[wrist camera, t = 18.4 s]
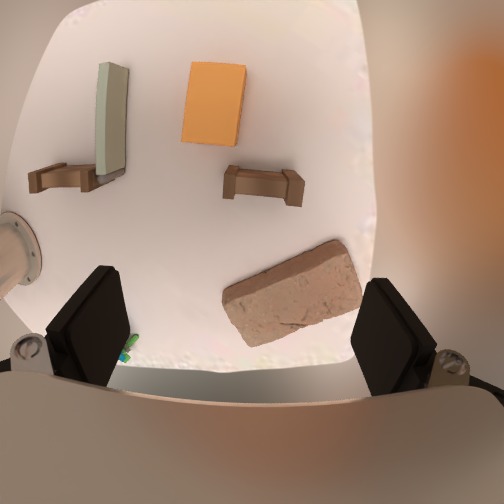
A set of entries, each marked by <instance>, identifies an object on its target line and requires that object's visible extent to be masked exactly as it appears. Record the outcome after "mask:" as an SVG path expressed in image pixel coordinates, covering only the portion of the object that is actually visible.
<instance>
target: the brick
mask: <svg viewBox="0 0 504 504" xmlns="http://www.w3.org/2000/svg"><path fill="white" fill-rule="evenodd" d="M362 299H363V296H362V289H361V286H360V283H359V281H358V278H357V275H356V272H355V269H354V266H353V263H352V261H351V258H350V256H349V253H348V251H347V248H346V247H345V246H344V245H343V244H341V243H340V242H339V241H338V240H336V241H334V240H333V241H331V242H327V243H325V244H323V245H320V246H317V247H316V248H315V249H314V250H313V251H306V252H304V253H303V254H301V255H299V256H296V257H294V258H292V259H290V260H287V261H285V262H283V263H282V264H280V265H277V266H275V267H273V268H271V269H270V270H267V271H265V272H262V273H260V274H258V275H256V276H255V277H252V278H249V279H246V280H244V281H242V282H239V283H237V284H235V285H233V286H231V287H229V288H227V289H225V290H224V291H223V295H222V305H223V307H224V310H225V311H226V313H227V315H228V317H229V319H230V321H231V323H232V324H233V325H235V327H236V328H237V329H238V331H239V332H240V334H241V335H242V338H243V340H244V341H245V342H246V343H247V345H248V346H250V347H255V346H259V345H261V344H266V343H268V342H272V341H274V340H277V339H280V338H282V337H284V336H286V335H288V334H290V333H293V332H295V331H297V330H298V329H299V328H304V327H306V326H308V325H313V324H317V323H319V322H322V320H323V319H329V318H332V317H336V316H339V315H342V314H344V313H347V312H349V311H352V310H354V309H357V308H359V307H360V306H361V302H362Z"/></svg>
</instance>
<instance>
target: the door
mask: <svg viewBox="0 0 504 504" xmlns="http://www.w3.org/2000/svg"><path fill="white" fill-rule="evenodd" d="M128 71H129V69H126V68H124V67H121V66H119V65H116V64H114V63H111V62H106V63H101V64H99V71H98V82H97V96H96V119H95V157H96V175H99V176H98V178H97V181H98V183H99V184H104V183H106V182H108V181H110V180H112V179H115V178H117V177H119V176H121V175H123V174H124V172H125V170H124V167H125V118H126V96H127V82H128Z"/></svg>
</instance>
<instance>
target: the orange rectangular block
mask: <svg viewBox="0 0 504 504" xmlns="http://www.w3.org/2000/svg"><path fill="white" fill-rule="evenodd" d="M246 76H247V73H246V65H238V64H226V63H211V62H192V65H191V71H190V77H189V84H188V91H187V98H186V105H185V113H184V121H183V130H182V139H181V142H190V143H203V144H214V145H223V146H233V147H234V146H235V145H236V144H237V138H238V131H239V124H240V117H241V110H242V103H243V96H244V89H245V82H246Z"/></svg>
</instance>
